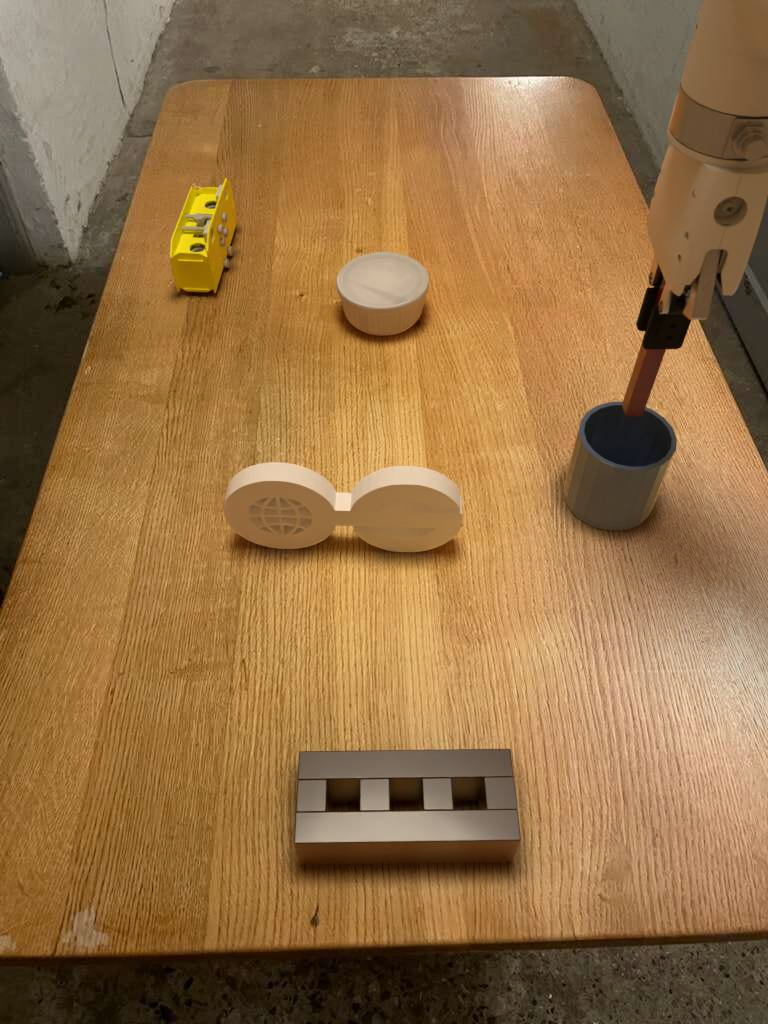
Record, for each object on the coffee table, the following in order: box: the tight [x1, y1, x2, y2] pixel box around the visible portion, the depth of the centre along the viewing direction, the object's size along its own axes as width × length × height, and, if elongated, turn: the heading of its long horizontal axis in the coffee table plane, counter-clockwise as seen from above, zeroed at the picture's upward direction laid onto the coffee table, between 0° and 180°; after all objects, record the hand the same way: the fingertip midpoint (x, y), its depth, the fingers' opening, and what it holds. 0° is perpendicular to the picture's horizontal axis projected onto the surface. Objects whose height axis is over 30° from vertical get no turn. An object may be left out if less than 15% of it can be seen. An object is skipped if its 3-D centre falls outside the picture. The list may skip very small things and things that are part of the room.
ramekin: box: [335, 251, 430, 337], centre depth 102 cm, size 11×11×5 cm
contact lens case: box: [223, 461, 464, 553], centre depth 78 cm, size 22×2×10 cm, turn 88°
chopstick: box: [622, 277, 688, 416], centre depth 71 cm, size 2×2×14 cm
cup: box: [562, 401, 678, 532], centre depth 82 cm, size 9×9×9 cm
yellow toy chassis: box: [169, 177, 238, 294], centre depth 108 cm, size 16×6×8 cm, turn 177°
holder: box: [293, 748, 522, 866], centre depth 63 cm, size 7×16×5 cm, turn 91°
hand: (658, 336), depth 70 cm, fingers closed on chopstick, 1 cm apart
